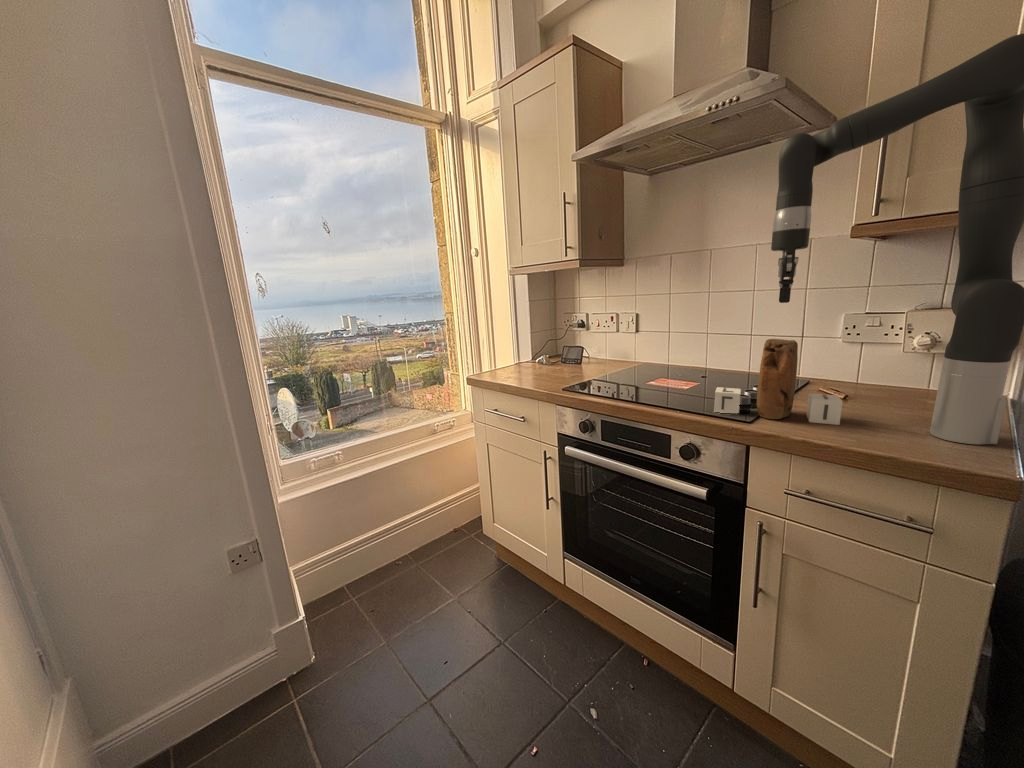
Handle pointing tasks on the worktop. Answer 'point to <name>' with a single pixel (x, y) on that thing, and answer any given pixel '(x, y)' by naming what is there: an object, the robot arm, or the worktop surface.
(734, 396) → the cube seven
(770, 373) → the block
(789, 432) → the worktop surface
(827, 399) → the cube one
